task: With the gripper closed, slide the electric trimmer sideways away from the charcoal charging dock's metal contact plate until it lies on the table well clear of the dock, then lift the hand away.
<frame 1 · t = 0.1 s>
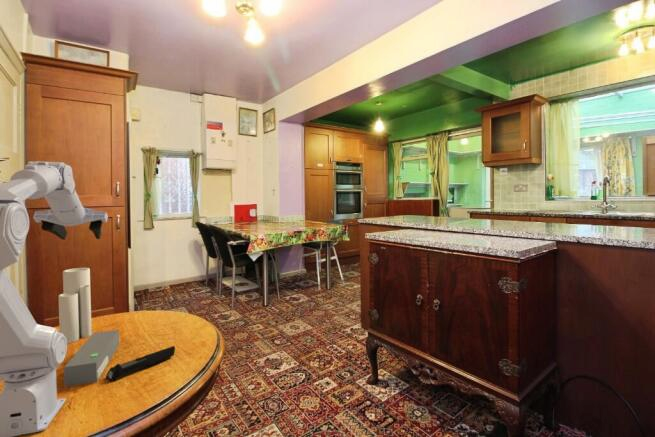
hand: (82, 236, 85), 32 cm above the table, tool tilted 50°, fingers open, 7 cm apart
charging dock: (95, 363, 81), on the table
vase: (77, 336, 97), on the table
electric trimmer: (142, 368, 79), on the table
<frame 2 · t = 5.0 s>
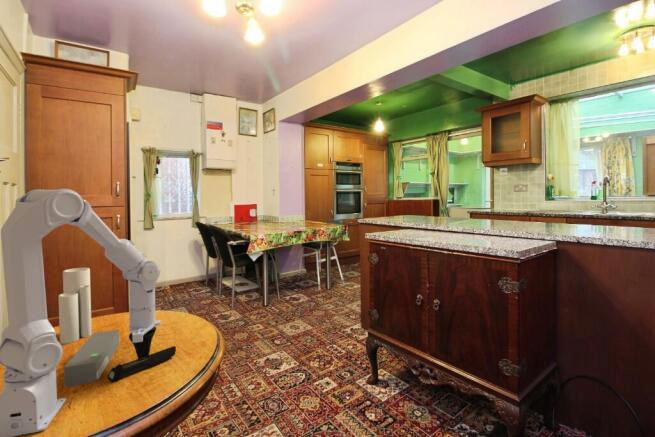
hand: (143, 358, 81), 1 cm above the table, tool pointing down, fingers closed
electric trimmer: (143, 369, 79), on the table, touching gripper
everything else where it was.
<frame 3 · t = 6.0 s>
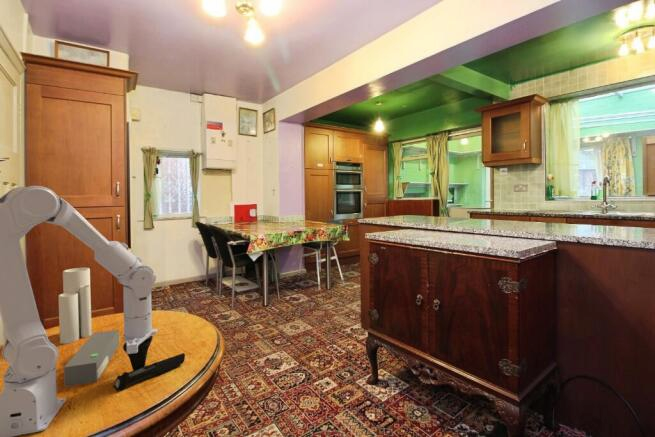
hand: (139, 369, 76), 1 cm above the table, tool pointing down, fingers closed
electric trimmer: (150, 377, 75), on the table, touching gripper
everything else where it was.
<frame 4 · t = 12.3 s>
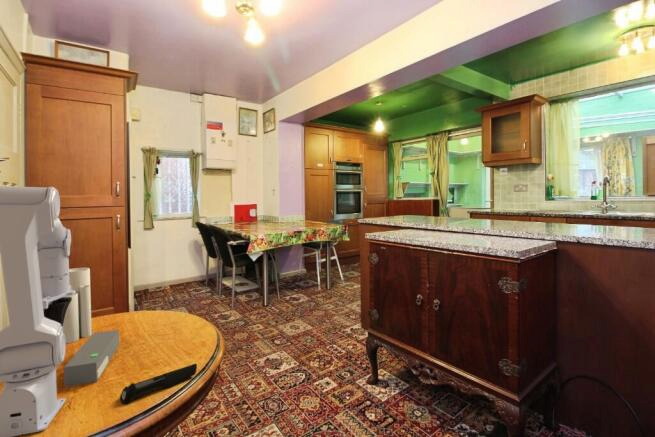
hand: (56, 328, 79), 9 cm above the table, tool pointing down, fingers closed
electric trimmer: (159, 388, 71), on the table
everything else where it was.
at the end: electric trimmer inside the target area (5.4 cm from its centre), on the table; electric trimmer touching table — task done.
